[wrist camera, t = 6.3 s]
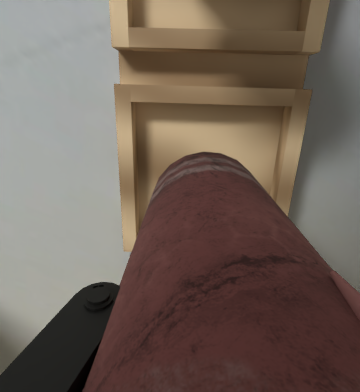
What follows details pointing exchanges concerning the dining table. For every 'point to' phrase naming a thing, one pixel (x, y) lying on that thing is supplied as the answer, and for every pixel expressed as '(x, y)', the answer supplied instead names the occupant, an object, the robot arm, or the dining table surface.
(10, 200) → the dining table surface
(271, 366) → the can
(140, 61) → the tray
